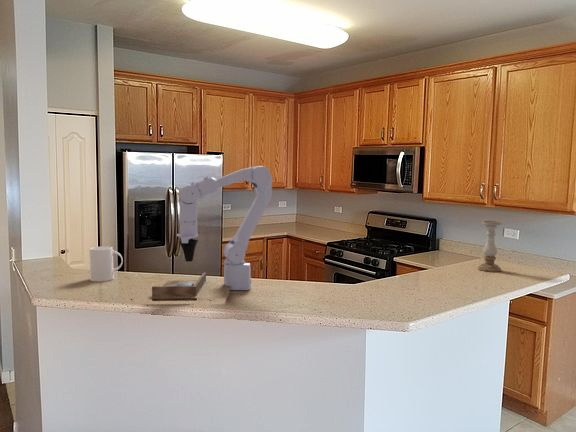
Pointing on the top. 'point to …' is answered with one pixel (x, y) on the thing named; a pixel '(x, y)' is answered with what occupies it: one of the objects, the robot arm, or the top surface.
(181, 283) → the block
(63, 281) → the top surface
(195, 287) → the board
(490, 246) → the candle holder
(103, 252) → the mug
